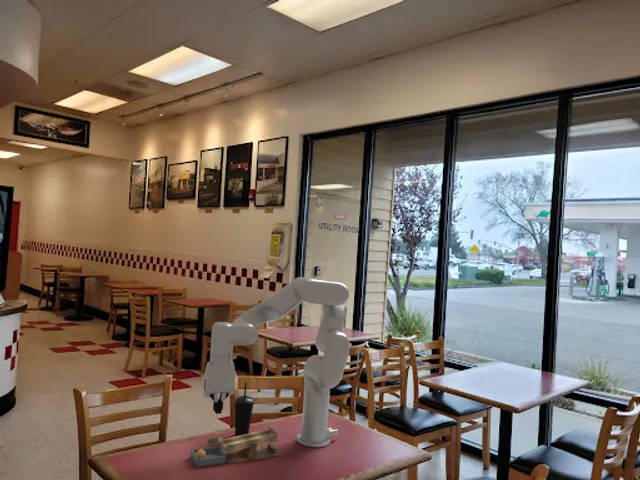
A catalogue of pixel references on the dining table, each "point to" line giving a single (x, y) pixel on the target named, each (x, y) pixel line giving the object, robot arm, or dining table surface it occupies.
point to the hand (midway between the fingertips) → (217, 412)
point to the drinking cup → (243, 413)
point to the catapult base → (251, 453)
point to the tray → (209, 457)
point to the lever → (245, 440)
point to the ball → (200, 454)
